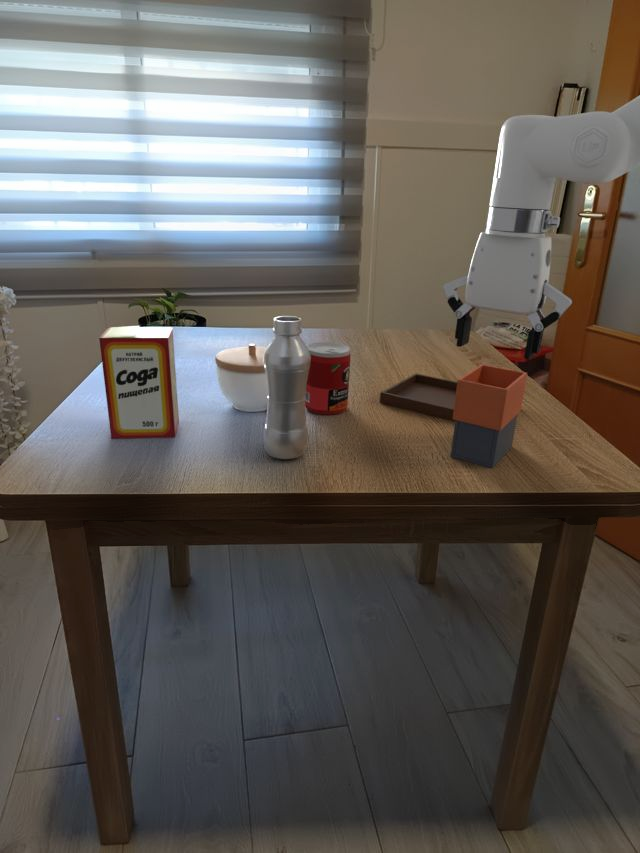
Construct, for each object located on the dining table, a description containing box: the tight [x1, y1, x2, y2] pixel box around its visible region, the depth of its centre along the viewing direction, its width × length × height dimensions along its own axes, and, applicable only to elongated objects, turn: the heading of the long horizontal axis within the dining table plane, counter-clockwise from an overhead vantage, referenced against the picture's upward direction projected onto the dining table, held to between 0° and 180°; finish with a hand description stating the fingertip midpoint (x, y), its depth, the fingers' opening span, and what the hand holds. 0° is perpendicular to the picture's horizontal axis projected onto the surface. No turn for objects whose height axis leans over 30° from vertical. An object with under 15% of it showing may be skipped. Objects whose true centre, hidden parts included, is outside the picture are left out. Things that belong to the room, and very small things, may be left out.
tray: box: [379, 372, 458, 422], centre depth 106 cm, size 19×15×2 cm
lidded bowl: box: [214, 343, 268, 413], centre depth 100 cm, size 13×13×11 cm
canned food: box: [305, 341, 352, 416], centre depth 100 cm, size 8×8×11 cm
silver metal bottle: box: [262, 315, 311, 460], centre depth 80 cm, size 6×7×20 cm
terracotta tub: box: [453, 363, 528, 431], centre depth 84 cm, size 7×10×6 cm
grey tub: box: [450, 414, 518, 469], centre depth 86 cm, size 6×9×6 cm
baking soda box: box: [98, 325, 180, 440], centre depth 88 cm, size 10×6×16 cm
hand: (494, 351), depth 81 cm, fingers open, 9 cm apart
